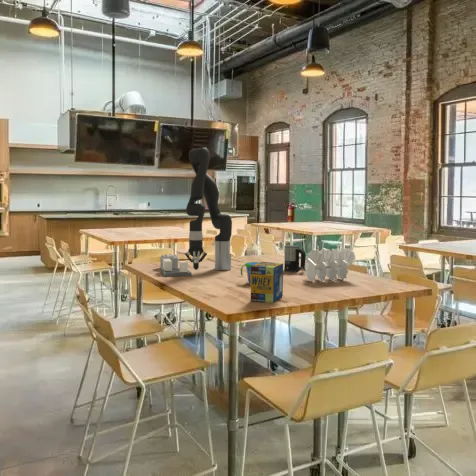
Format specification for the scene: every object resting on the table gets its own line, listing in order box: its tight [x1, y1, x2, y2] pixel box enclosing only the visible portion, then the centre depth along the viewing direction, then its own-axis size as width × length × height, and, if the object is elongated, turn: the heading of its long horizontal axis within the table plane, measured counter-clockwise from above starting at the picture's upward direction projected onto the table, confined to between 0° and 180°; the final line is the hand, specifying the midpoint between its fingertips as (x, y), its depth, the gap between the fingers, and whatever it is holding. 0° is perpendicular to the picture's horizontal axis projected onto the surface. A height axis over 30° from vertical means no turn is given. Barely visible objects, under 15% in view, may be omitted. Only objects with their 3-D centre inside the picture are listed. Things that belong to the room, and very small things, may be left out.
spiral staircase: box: [304, 247, 356, 282], centre depth 280 cm, size 18×18×25 cm
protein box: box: [250, 261, 284, 304], centre depth 233 cm, size 10×15×16 cm
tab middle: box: [164, 260, 172, 271], centre depth 300 cm, size 4×4×6 cm
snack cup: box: [240, 261, 260, 284], centre depth 273 cm, size 16×10×10 cm
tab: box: [179, 260, 189, 272], centre depth 296 cm, size 4×4×6 cm
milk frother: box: [283, 244, 307, 272], centre depth 316 cm, size 14×16×15 cm
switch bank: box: [160, 267, 192, 278], centre depth 302 cm, size 15×19×2 cm
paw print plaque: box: [159, 253, 179, 270], centre depth 321 cm, size 10×13×9 cm
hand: (195, 269), depth 298 cm, fingers closed
